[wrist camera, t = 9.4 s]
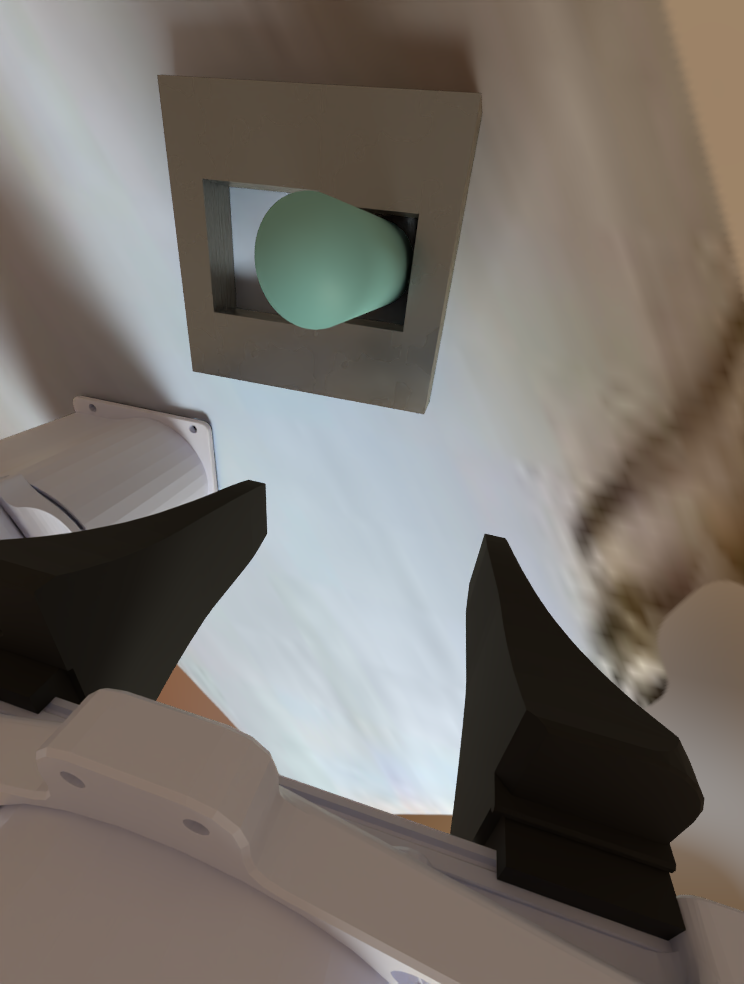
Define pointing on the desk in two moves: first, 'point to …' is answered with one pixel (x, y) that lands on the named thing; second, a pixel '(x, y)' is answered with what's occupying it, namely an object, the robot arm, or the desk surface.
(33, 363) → the desk surface
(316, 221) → the peg
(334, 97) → the keyhole plate
